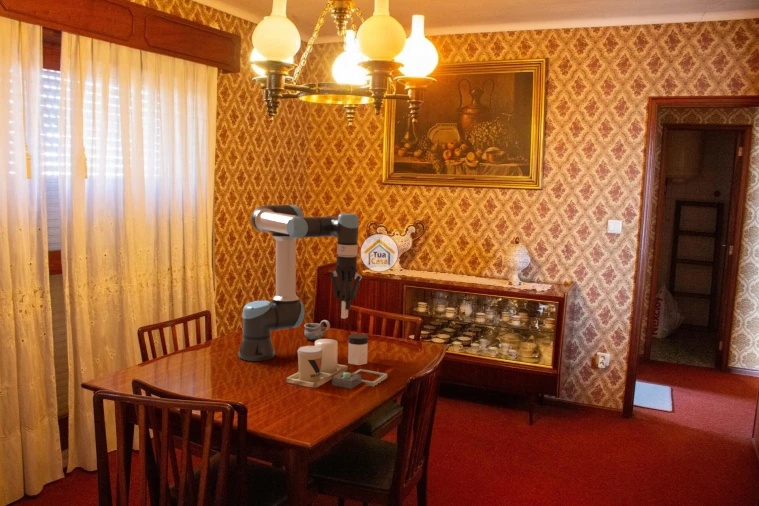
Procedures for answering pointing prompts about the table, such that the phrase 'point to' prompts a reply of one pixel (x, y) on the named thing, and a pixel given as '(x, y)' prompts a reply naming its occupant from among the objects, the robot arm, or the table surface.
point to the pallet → (323, 379)
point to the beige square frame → (370, 383)
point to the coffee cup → (309, 363)
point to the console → (346, 380)
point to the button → (347, 374)
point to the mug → (315, 330)
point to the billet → (328, 354)
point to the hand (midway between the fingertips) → (344, 317)
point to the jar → (357, 349)
